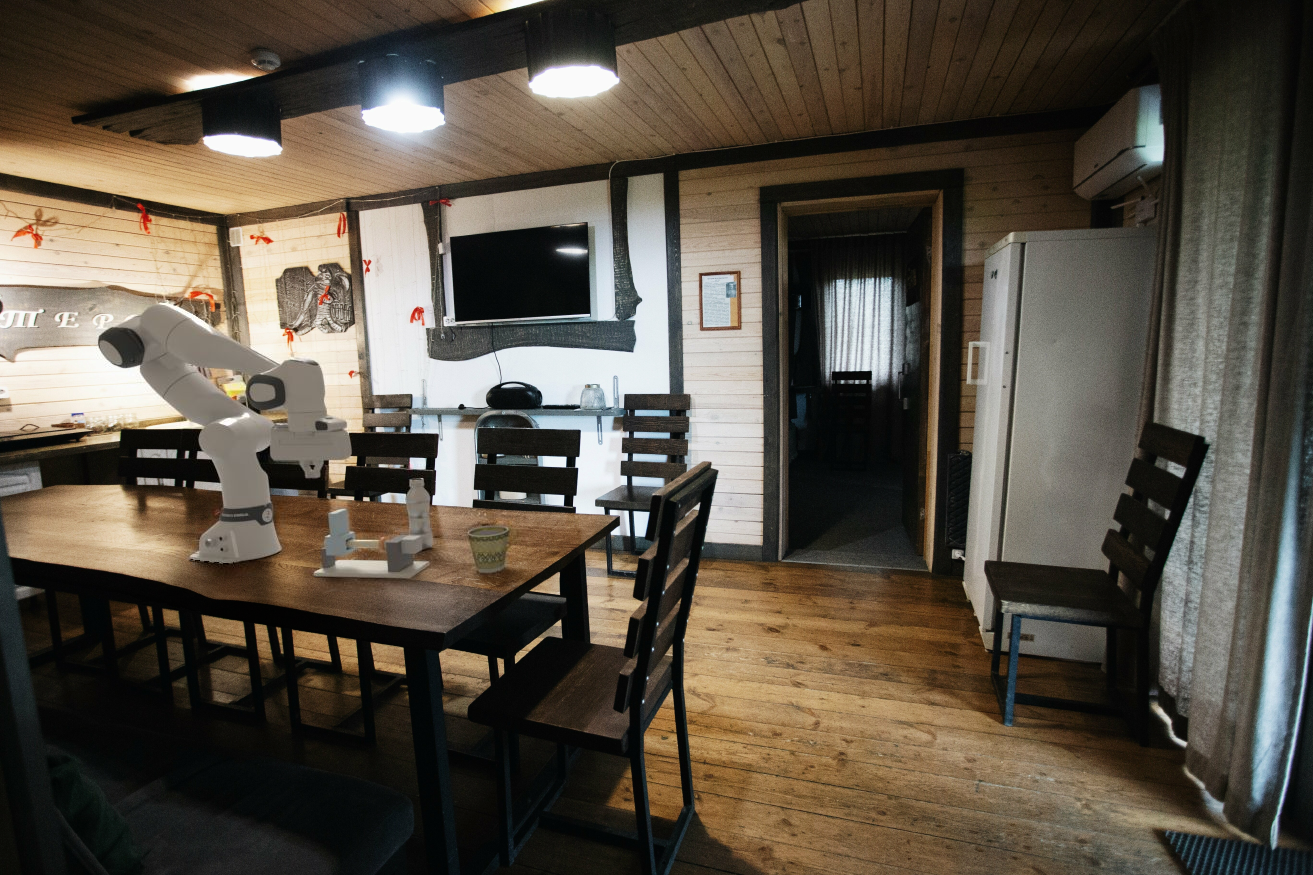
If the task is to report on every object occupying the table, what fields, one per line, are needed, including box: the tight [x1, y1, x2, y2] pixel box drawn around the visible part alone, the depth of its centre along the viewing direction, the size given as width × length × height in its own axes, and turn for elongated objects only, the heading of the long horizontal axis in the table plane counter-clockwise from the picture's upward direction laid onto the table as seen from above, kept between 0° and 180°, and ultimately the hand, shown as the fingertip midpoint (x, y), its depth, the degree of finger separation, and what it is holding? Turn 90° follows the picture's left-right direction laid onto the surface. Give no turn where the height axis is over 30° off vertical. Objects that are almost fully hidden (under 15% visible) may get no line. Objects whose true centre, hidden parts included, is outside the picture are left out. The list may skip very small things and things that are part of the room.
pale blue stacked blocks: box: [324, 508, 357, 557], centre depth 163 cm, size 5×5×11 cm
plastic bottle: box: [405, 477, 434, 551], centre depth 180 cm, size 6×7×20 cm
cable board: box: [313, 534, 430, 579], centre depth 163 cm, size 26×10×9 cm, turn 82°
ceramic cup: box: [467, 525, 520, 574], centre depth 162 cm, size 13×10×10 cm
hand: (313, 477), depth 162 cm, fingers closed
